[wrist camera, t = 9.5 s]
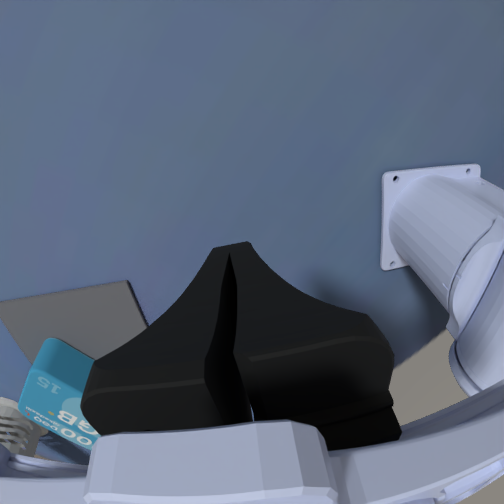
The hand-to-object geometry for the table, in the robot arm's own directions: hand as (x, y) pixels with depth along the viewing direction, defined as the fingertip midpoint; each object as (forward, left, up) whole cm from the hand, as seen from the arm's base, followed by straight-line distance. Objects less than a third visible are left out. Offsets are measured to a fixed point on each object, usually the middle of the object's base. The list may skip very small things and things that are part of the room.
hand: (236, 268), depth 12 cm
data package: (+15, +14, -8) cm, 22 cm away
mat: (+17, +15, -10) cm, 25 cm away
